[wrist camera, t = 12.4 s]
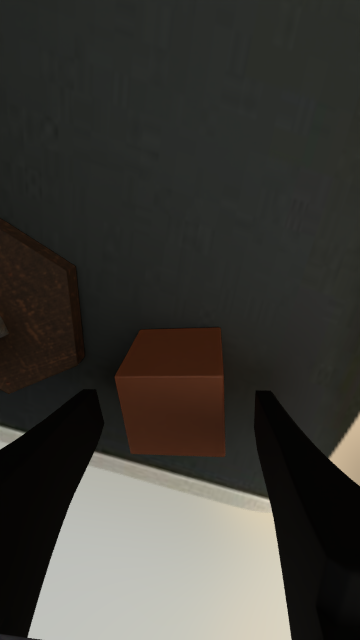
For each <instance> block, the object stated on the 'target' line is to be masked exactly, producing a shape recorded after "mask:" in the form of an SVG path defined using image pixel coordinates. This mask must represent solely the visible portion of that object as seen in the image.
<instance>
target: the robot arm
mask: <svg viewBox="0 0 360 640" xmlns="http://www.w3.org/2000/svg"><path fill="white" fill-rule="evenodd" d="M103 426H104V420H103V416H102V412H101V408H100V404H99V400H98V396H97V392H96V389H83V390H82V391H81V392H79V393H78V394H76V395H75V396H74V397H73V398H71V399H70V400H69V401H67V402H66V403H65V404H64V405H62V406H61V407H60V408H59V409H57V410H56V411H55V412H53V413H52V414H51V415H50V416H48V417H47V418H46V419H44V420H43V421H42V422H40V423H39V424H37V425H36V426H35V427H33V428H32V429H31V430H29V431H28V432H26V433H25V434H24V435H22V436H21V437H19V438H18V439H16V440H15V441H13V442H12V443H10V444H8V445H7V446H5V447H4V448H2V449H1V450H0V640H40V639H32V638H27V637H28V632H29V629H30V626H31V622H32V619H33V615H34V612H35V608H36V605H37V601H38V598H39V594H40V591H41V588H42V584H43V581H44V578H45V575H46V572H47V568H48V565H49V562H50V559H51V556H52V553H53V550H54V547H55V544H56V541H57V538H58V535H59V532H60V529H61V527H62V524H63V521H64V519H65V516H66V513H67V510H68V508H69V505H70V503H71V500H72V498H73V496H74V493H75V491H76V489H77V487H78V485H79V483H80V481H81V479H82V477H83V474H84V472H85V470H86V468H87V466H88V464H89V462H90V460H91V458H92V455H93V453H94V451H95V449H96V447H97V444H98V441H99V438H100V436H101V432H102V429H103ZM254 430H255V437H256V445H257V451H258V455H259V459H260V463H261V467H262V471H263V475H264V479H265V483H266V487H267V491H268V495H269V499H270V503H271V508H272V513H273V517H274V523H275V529H276V536H277V541H278V548H279V555H280V562H281V568H282V575H283V581H284V588H285V595H286V602H287V609H288V616H289V623H290V631H291V638H292V640H360V486H359V485H358V484H356V483H355V482H354V481H353V480H351V479H350V478H349V477H348V476H347V475H346V474H344V473H343V472H342V471H341V470H340V469H339V468H338V467H337V466H336V465H335V464H333V463H332V462H331V461H330V460H329V459H328V458H327V457H326V456H325V455H324V454H323V453H322V452H321V451H320V450H319V449H318V448H317V447H316V446H315V445H314V444H313V443H312V441H311V440H310V439H309V438H308V437H307V436H306V435H305V434H304V433H303V431H302V430H301V429H300V428H299V427H298V426H297V424H296V423H295V422H294V421H293V420H292V418H291V417H290V416H289V415H288V413H287V412H286V411H285V409H284V408H283V407H282V405H281V404H280V403H279V401H278V400H277V398H276V397H275V395H274V394H273V393H272V392H271V391H256V394H255V418H254Z"/></svg>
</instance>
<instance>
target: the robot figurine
mask: <svg viewBox="0 0 360 640" xmlns="http://www.w3.org/2000/svg"><path fill="white" fill-rule="evenodd" d="M84 357H85V353H84V343H83V333H82V324H81V314H80V304H79V295H78V285H77V275H76V266H74V265H73V264H71V263H70V262H68V261H67V260H65V259H63V258H62V257H60V256H59V255H57V254H56V253H54V252H52V251H51V250H49V249H48V248H46V247H45V246H43V245H42V244H40V243H38V242H37V241H35V240H34V239H32V238H31V237H29V236H27V235H26V234H24V233H23V232H21V231H20V230H18V229H17V228H15V227H13V226H12V225H10V224H9V223H7V222H6V221H4V220H2V219H1V218H0V390H2V391H4V392H6V393H8V394H10V393H12V392H14V391H17V390H19V389H22V388H24V387H26V386H29V385H31V384H34V383H36V382H39V381H41V380H43V379H46V378H48V377H51V376H53V375H56V374H58V373H60V372H63V371H65V370H68V369H70V368H72V367H75V366H77V365H78V364H79V363H80V362H81V360H82V359H83V358H84Z"/></svg>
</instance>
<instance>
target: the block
mask: <svg viewBox="0 0 360 640" xmlns="http://www.w3.org/2000/svg"><path fill="white" fill-rule="evenodd" d="M115 382H116V387H117V391H118V396H119V401H120V405H121V410H122V415H123V419H124V424H125V429H126V433H127V438H128V443H129V447H130V452H131V454H150V455H179V456H208V457H225V410H224V372H223V357H222V342H221V329H220V328H182V329H146V330H140V331H139V333H138V335H137V336H136V338H135V340H134V342H133V344H132V346H131V347H130V349H129V351H128V353H127V355H126V356H125V358H124V360H123V362H122V364H121V366H120V367H119V369H118V371H117V373H116V375H115Z"/></svg>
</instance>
